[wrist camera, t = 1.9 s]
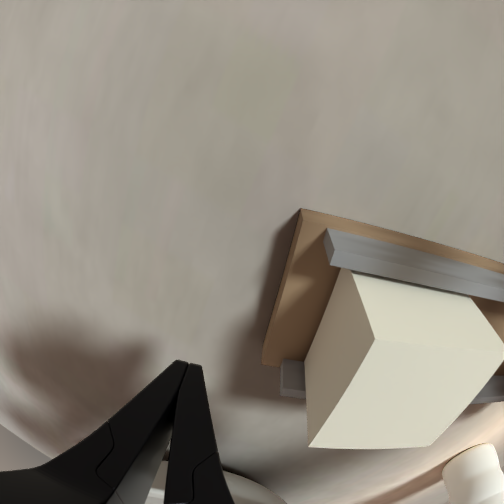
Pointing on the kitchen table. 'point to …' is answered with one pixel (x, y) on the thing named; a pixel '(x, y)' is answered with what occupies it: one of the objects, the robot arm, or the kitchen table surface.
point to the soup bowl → (242, 489)
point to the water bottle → (475, 477)
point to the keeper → (394, 363)
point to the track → (374, 262)
